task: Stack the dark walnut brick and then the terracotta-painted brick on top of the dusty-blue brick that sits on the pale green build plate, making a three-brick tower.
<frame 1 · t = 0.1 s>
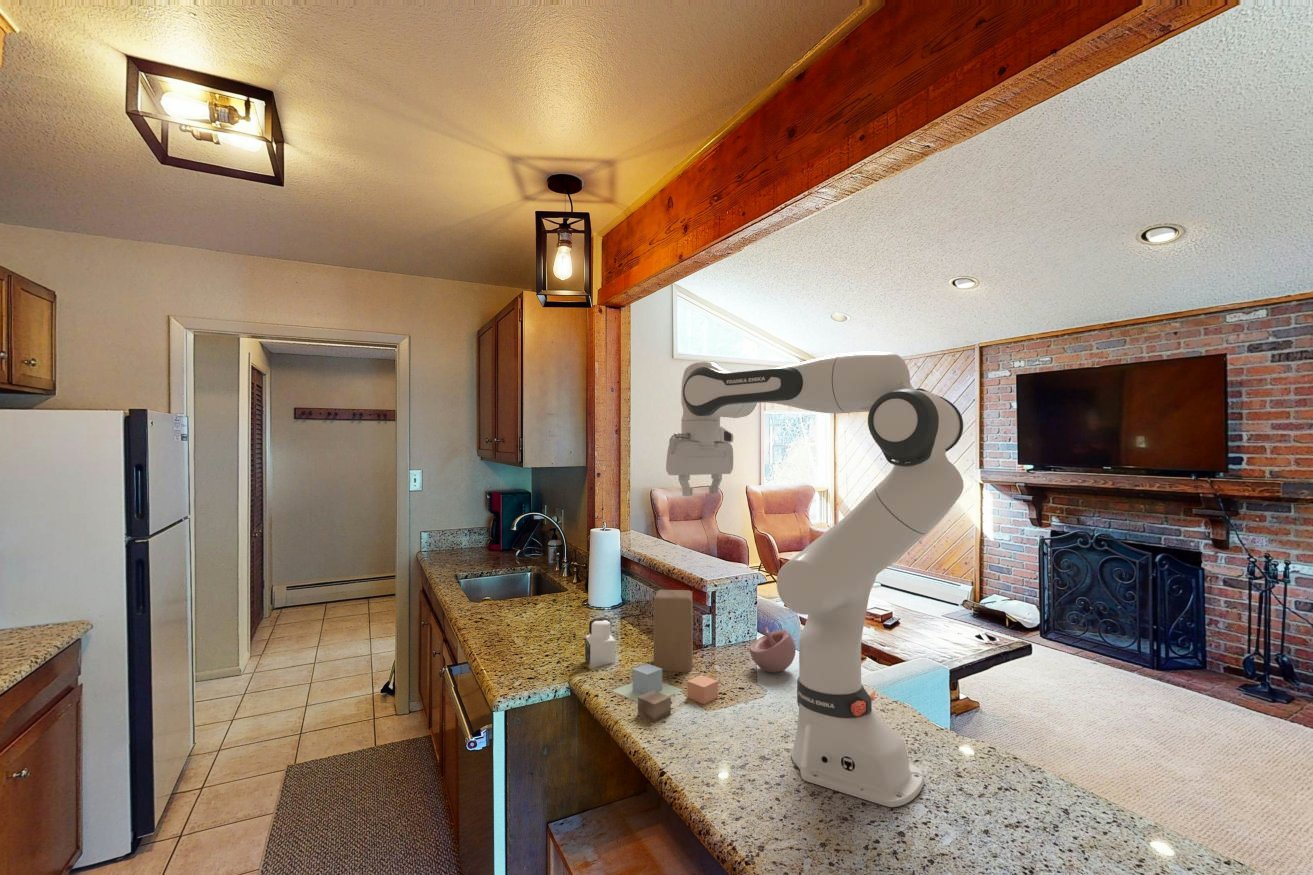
hand: (701, 495, 126), 48 cm above the countertop, fingers open, 8 cm apart
brick b: (654, 720, 119), on the countertop
brick c: (702, 703, 128), on the countertop
medicine bottle: (600, 664, 153), on the countertop
mortar and pestle: (772, 671, 147), on the countertop
brick a: (647, 690, 132), point 1 cm above the countertop, touching build plate
block: (673, 669, 149), on the countertop
build plate: (647, 695, 132), on the countertop
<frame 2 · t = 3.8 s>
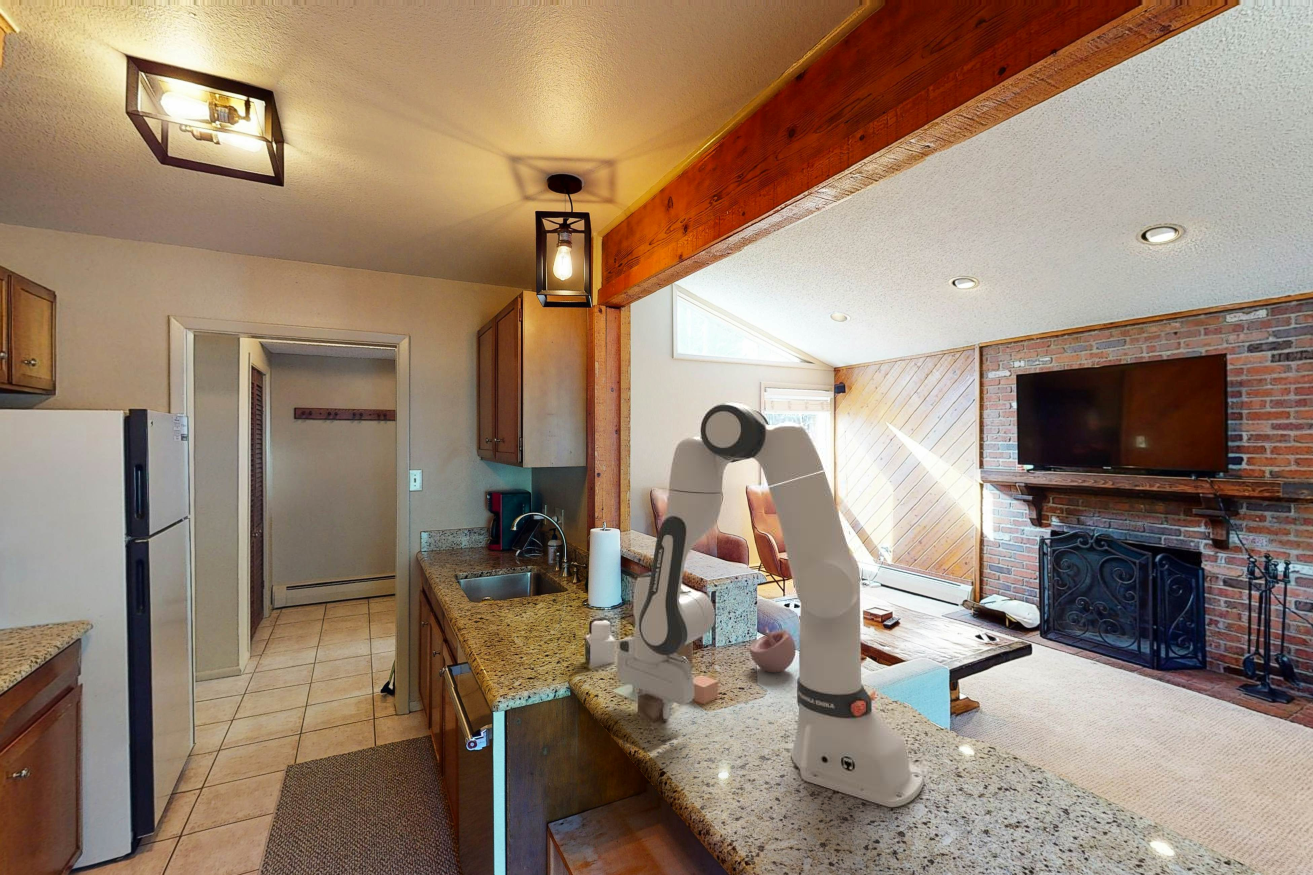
hand: (654, 712, 119), 2 cm above the countertop, fingers closed on brick b, 5 cm apart
brick b: (654, 720, 119), on the countertop, touching gripper
everything else where it was.
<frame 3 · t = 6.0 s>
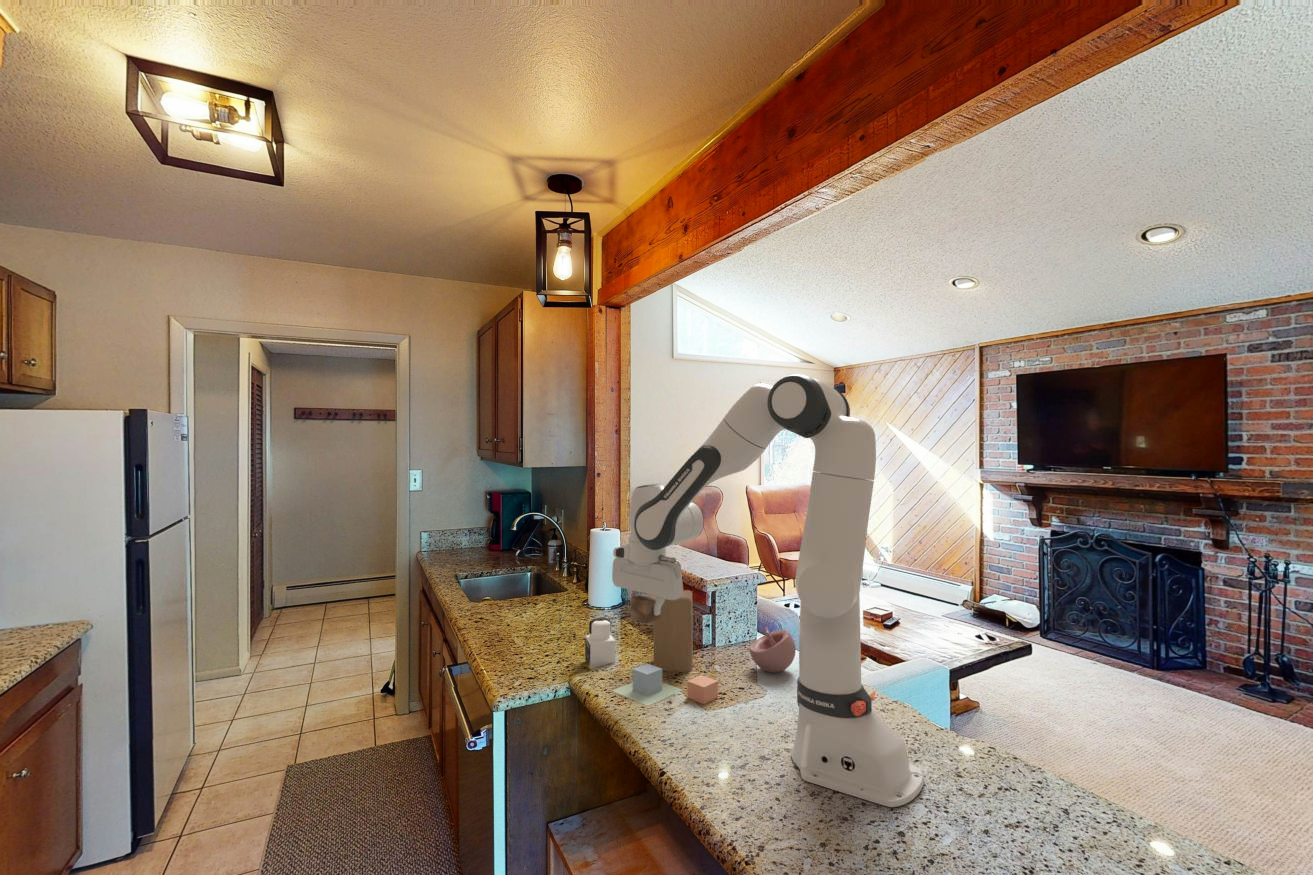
hand: (645, 611, 131), 20 cm above the countertop, fingers closed on brick b, 5 cm apart
brick b: (645, 618, 131), point 19 cm above the countertop, touching gripper
everything else where it was.
when the fingers open (9 cm above the countertop, at t = 8.4 s): brick b drops 1 cm, resting on brick a.
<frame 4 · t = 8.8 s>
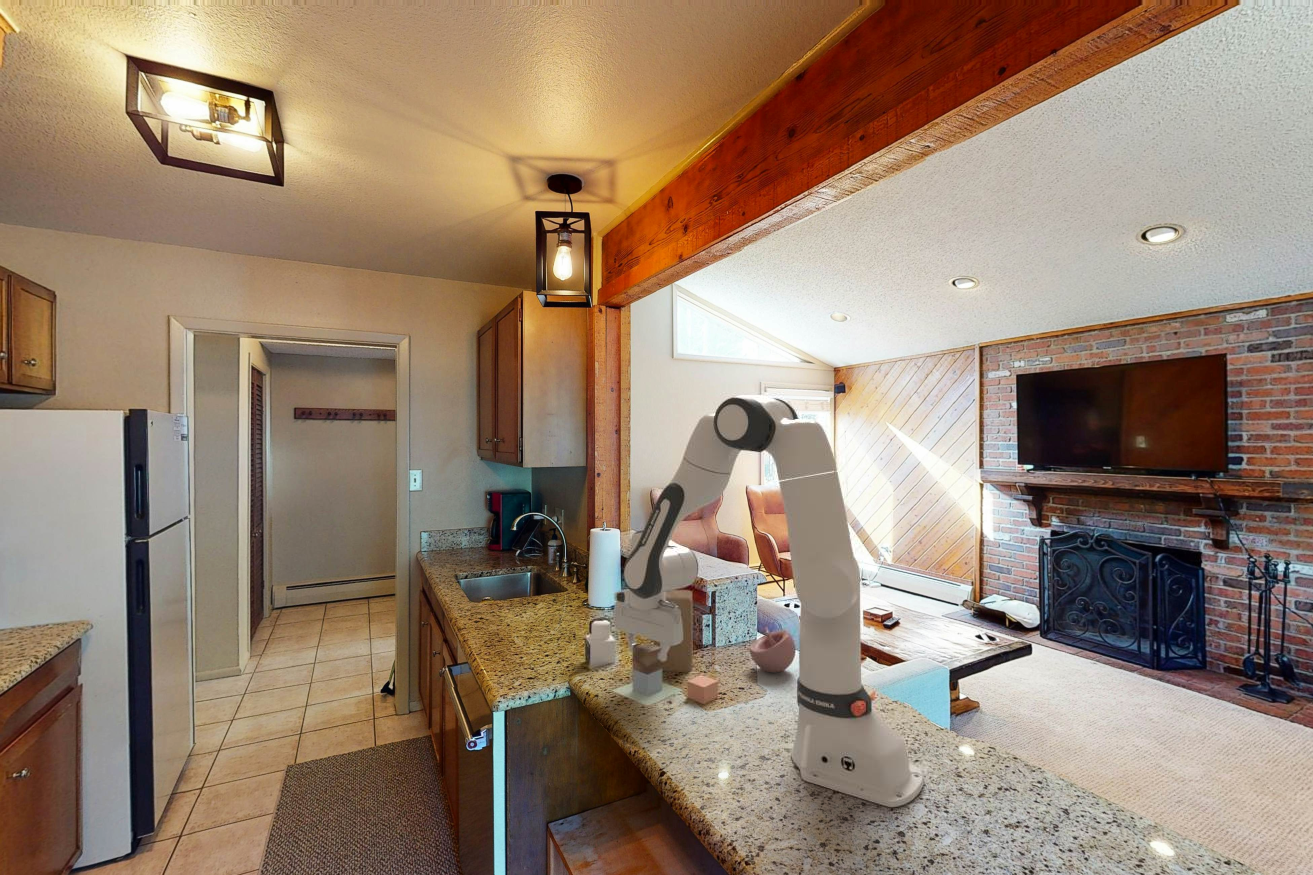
hand: (647, 655, 132), 9 cm above the countertop, fingers open, 8 cm apart
brick b: (647, 668, 132), point 6 cm above the countertop, touching brick a
brick a: (647, 690, 132), point 1 cm above the countertop, touching brick b, build plate
everything else where it was.
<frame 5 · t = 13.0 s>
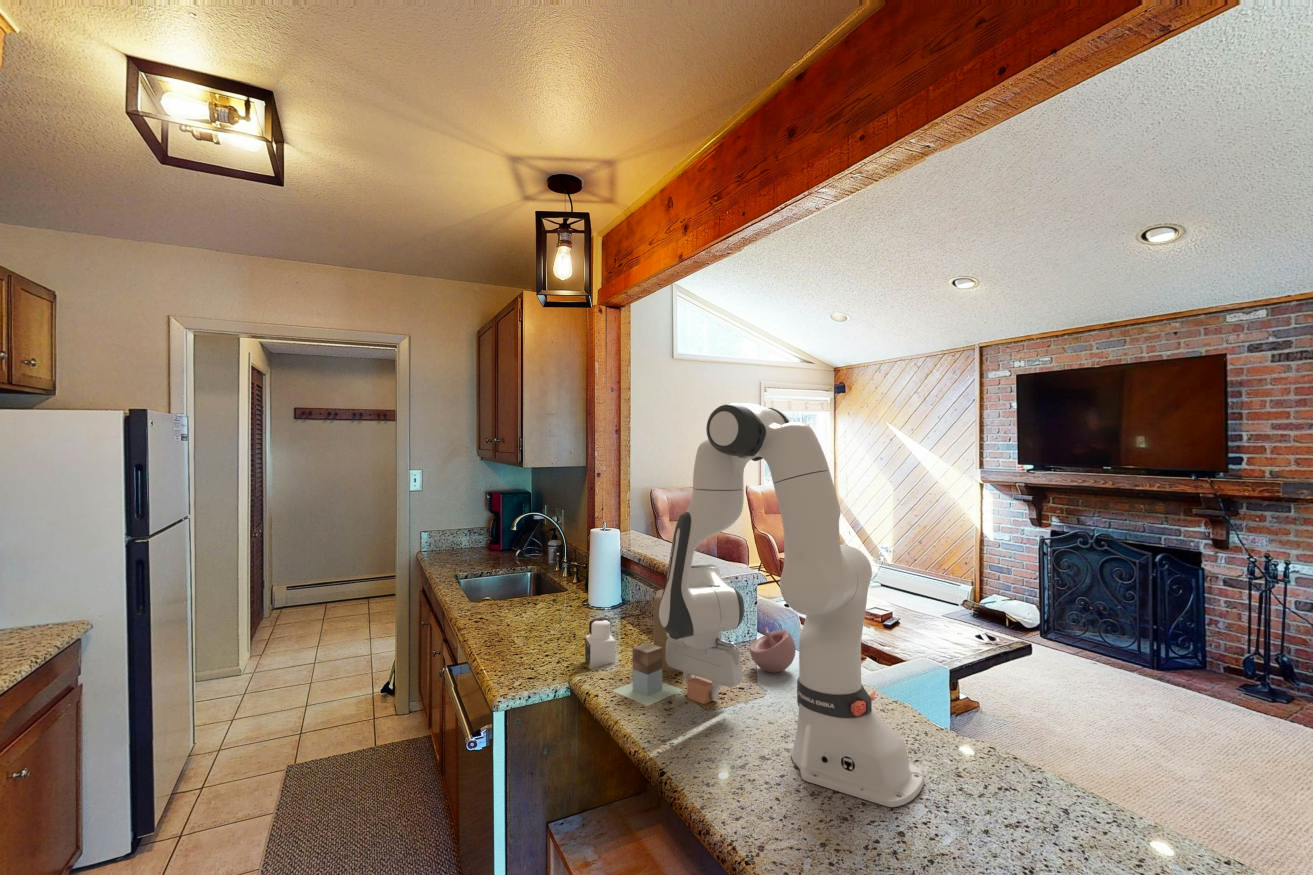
hand: (702, 695, 128), 2 cm above the countertop, fingers closed on brick c, 5 cm apart
brick c: (702, 702, 128), on the countertop, touching gripper
everything else where it was.
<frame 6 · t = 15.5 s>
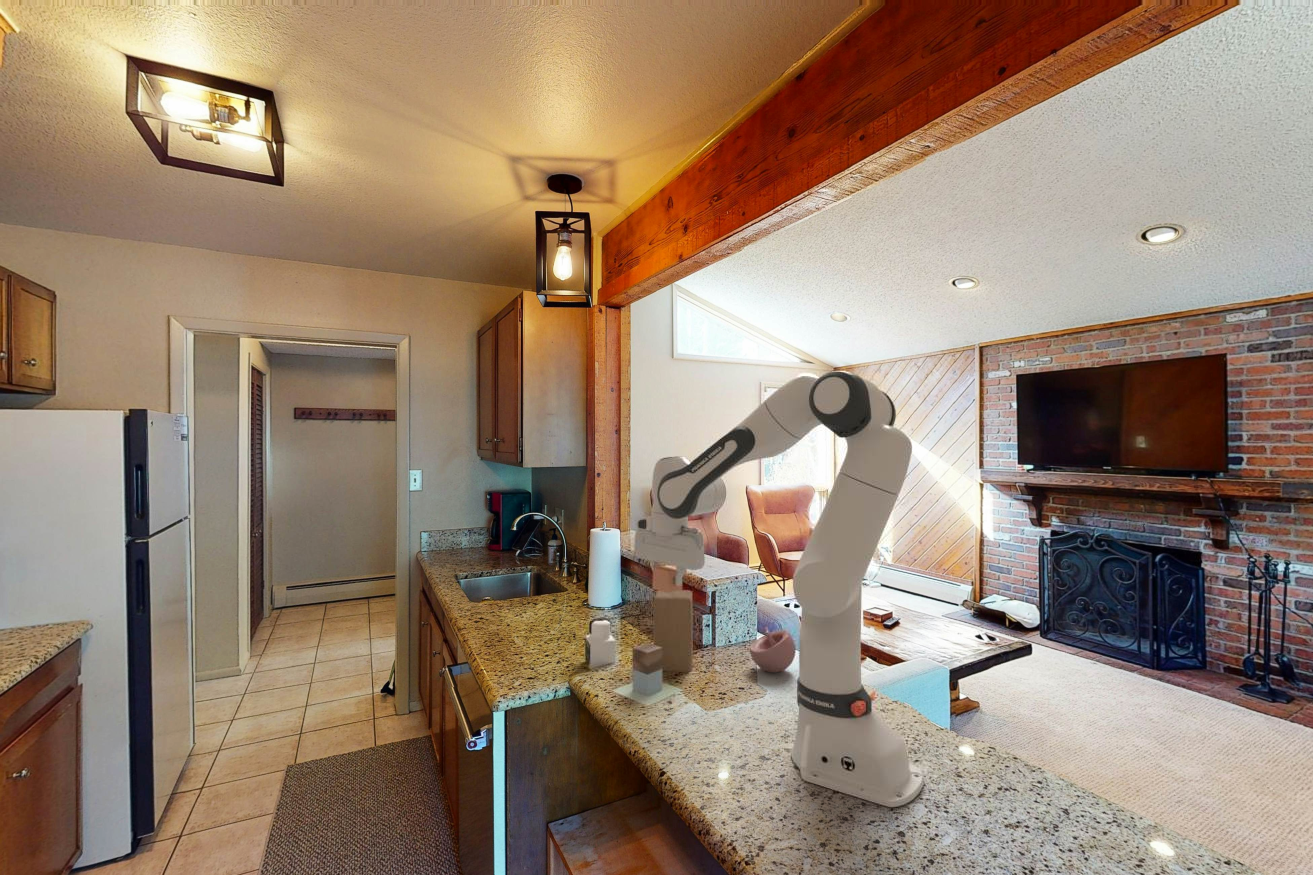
hand: (667, 582, 132), 27 cm above the countertop, fingers closed on brick c, 5 cm apart
brick c: (667, 589, 132), point 25 cm above the countertop, touching gripper
everything else where it was.
when the fingers open (14 cm above the countertop, at t = 18.3 s): brick c drops 1 cm, resting on brick b.
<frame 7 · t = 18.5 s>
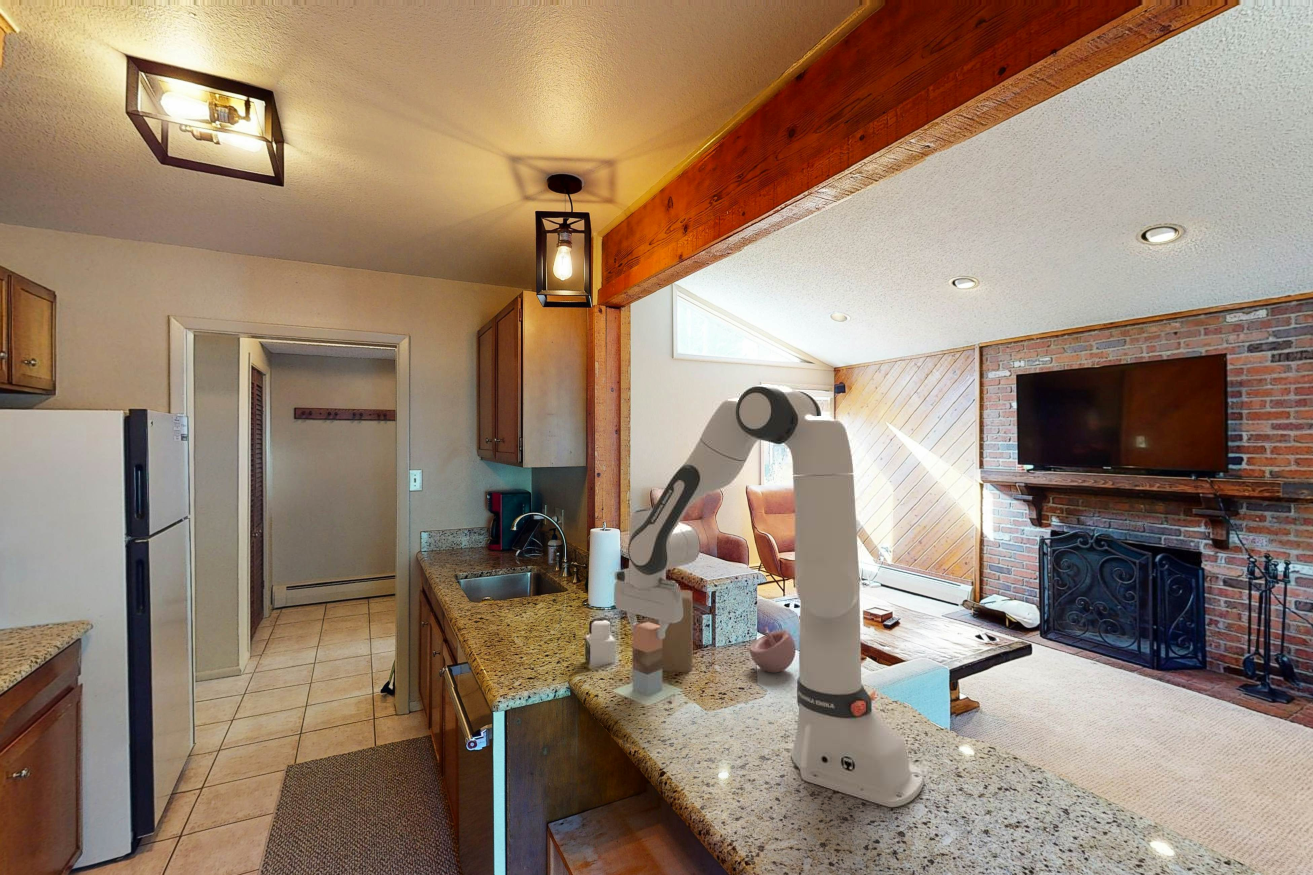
hand: (647, 634, 132), 14 cm above the countertop, fingers open, 7 cm apart
brick b: (647, 668, 132), point 6 cm above the countertop, touching brick a, brick c
brick c: (647, 647, 132), point 11 cm above the countertop, touching brick b
everything else where it was.
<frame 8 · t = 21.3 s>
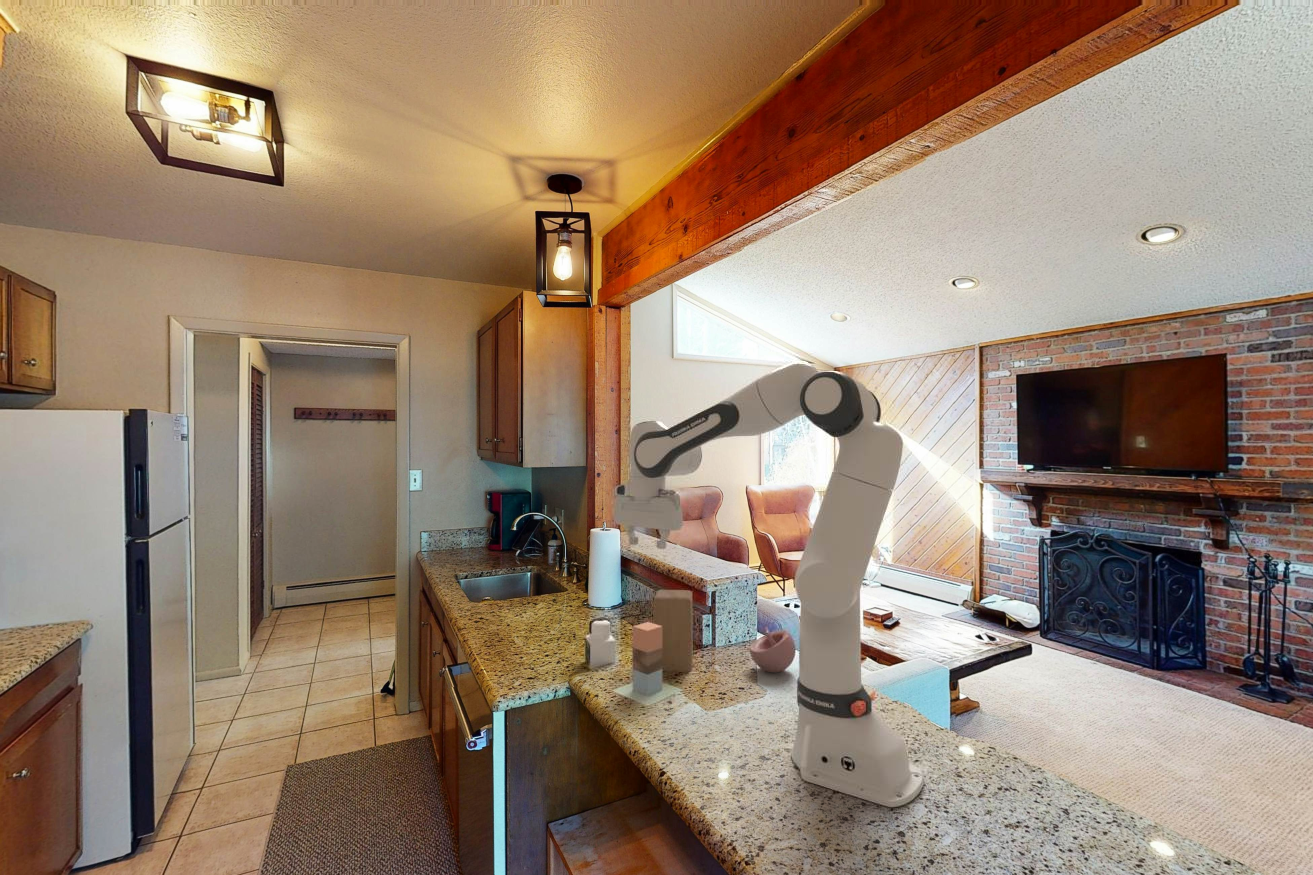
hand: (647, 546, 133), 35 cm above the countertop, fingers open, 8 cm apart
nothing on the countertop moved.
at the end: brick b 0.1 cm off-centre on the brick a, point 5.0 cm above the brick a's base; brick c 0.1 cm off-centre on the brick a, point 10.0 cm above the brick a's base; brick c tilted 0° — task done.
